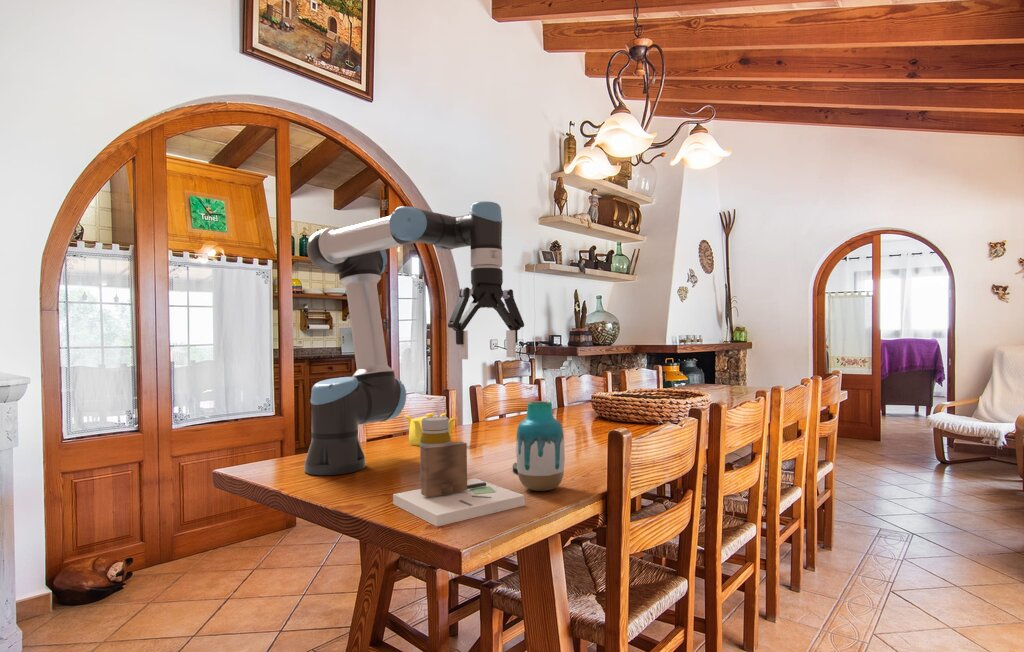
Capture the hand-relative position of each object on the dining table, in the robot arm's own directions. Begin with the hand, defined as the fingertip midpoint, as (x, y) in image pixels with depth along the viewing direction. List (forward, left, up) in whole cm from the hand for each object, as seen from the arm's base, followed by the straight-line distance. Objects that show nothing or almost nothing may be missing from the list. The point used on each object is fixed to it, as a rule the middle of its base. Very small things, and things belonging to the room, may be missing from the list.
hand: (488, 358), depth 136 cm
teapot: (-51, +12, -29) cm, 60 cm away
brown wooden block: (+10, -16, -26) cm, 32 cm away
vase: (+14, +4, -29) cm, 32 cm away
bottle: (-6, -11, -29) cm, 31 cm away
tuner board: (+12, -16, -29) cm, 35 cm away
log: (-1, +14, -29) cm, 32 cm away
